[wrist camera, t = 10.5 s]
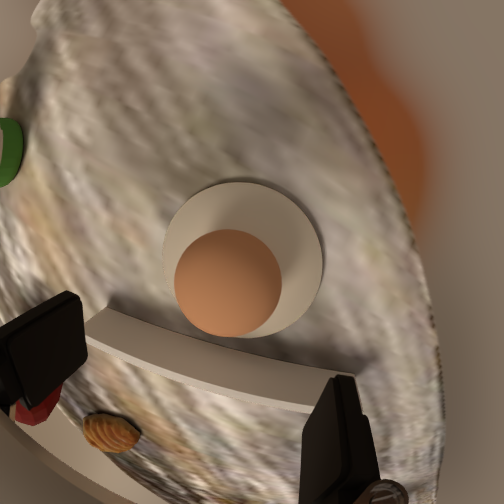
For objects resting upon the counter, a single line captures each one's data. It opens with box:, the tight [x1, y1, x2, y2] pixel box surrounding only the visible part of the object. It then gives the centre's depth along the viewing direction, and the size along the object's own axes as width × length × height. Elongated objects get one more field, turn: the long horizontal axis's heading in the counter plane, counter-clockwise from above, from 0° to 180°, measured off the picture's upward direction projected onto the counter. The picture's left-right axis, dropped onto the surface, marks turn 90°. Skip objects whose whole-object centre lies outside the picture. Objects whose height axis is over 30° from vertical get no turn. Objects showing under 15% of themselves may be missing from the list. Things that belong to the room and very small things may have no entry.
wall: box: [84, 307, 363, 414], centre depth 19 cm, size 22×1×4 cm, turn 78°
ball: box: [174, 229, 282, 337], centre depth 15 cm, size 6×6×6 cm
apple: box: [15, 383, 63, 426], centre depth 20 cm, size 11×11×12 cm
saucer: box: [162, 182, 322, 338], centre depth 19 cm, size 11×11×1 cm
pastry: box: [83, 413, 140, 453], centre depth 26 cm, size 9×7×4 cm
